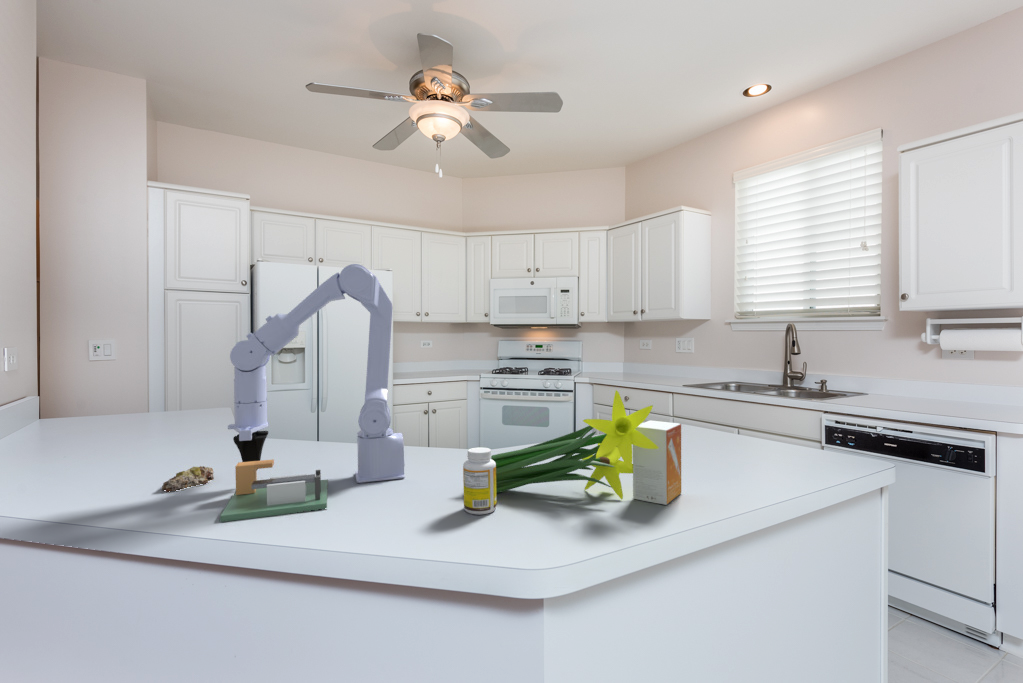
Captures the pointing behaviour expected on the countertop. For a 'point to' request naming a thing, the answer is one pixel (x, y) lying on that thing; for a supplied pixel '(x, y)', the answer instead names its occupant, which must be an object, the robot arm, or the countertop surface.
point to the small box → (658, 463)
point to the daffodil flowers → (605, 459)
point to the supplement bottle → (479, 482)
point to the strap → (283, 480)
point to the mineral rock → (189, 478)
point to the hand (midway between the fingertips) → (251, 470)
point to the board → (262, 510)
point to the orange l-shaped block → (249, 475)
